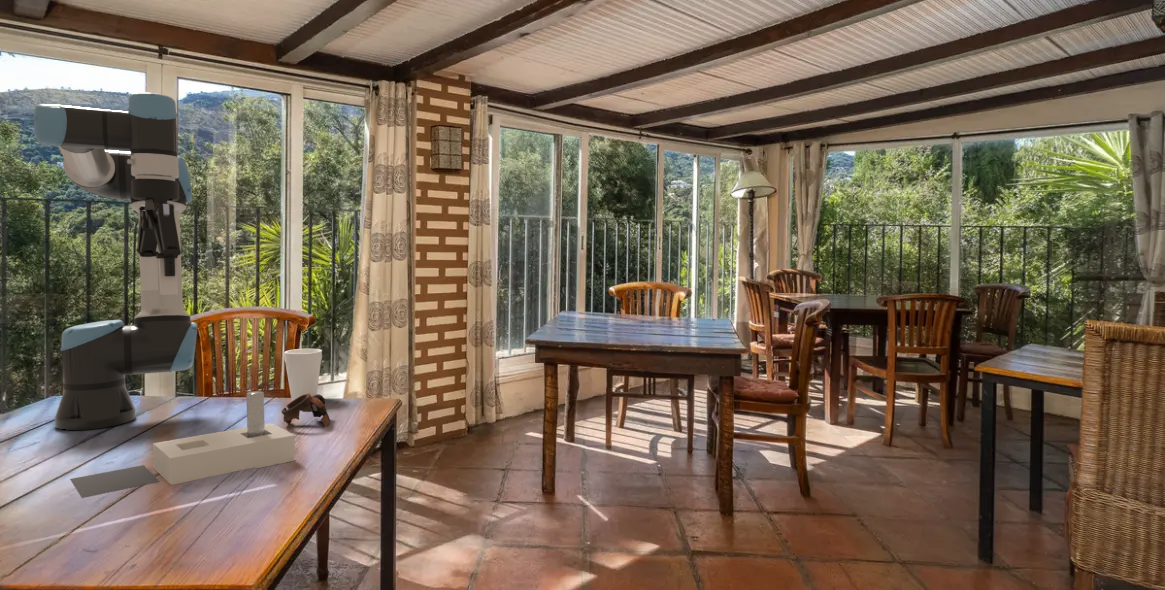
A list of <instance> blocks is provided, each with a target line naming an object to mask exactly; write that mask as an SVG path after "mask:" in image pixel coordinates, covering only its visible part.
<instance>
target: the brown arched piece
mask: <svg viewBox="0 0 1165 590" xmlns="http://www.w3.org/2000/svg"><path fill="white" fill-rule="evenodd" d="M300 412H303V413H306V412H307V413H310V412H311V413H312V415H313V417H314V418H320V421H321V422H322V423H323V427H324V426H326V427H328V425H329V424H330V422H331V419H330V416H329V414H328V412H327V408H326V399H325V397H324V396H323V395H321V394H318V393H317V395H315V396H313V397H311V395H310V394H304V395H302V396H300V397H298V398H296V399H295V400H291V402H289V403H287V405H286V407H284V408H283V409H282V410H281V414H282V415H283V418H282V419H283V422H284V423H286V424H287V425H291V423H292V421H293V420H295V419H296V420H298V421H299V420H300ZM321 417H322V418H321Z"/></svg>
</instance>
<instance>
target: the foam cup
mask: <svg viewBox="0 0 1165 590" xmlns="http://www.w3.org/2000/svg"><path fill="white" fill-rule="evenodd" d="M322 352H323V349H320V348H297V349H295V348H294V349H289V350H286V351H284V353H283V355H284V357H283V358H284V360H283V361H284V362H285V369H286V373H287V374H286V375H287V379H288V387H289V393H290V398H291V401H293V400H295V399H296V398H298V397H300V396H302V395H304V394H310V395H311V397H313V396H315V395H317V394H318V391H319V390H318V389H319V379H320V372H321V363H322V359H323V353H322Z"/></svg>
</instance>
